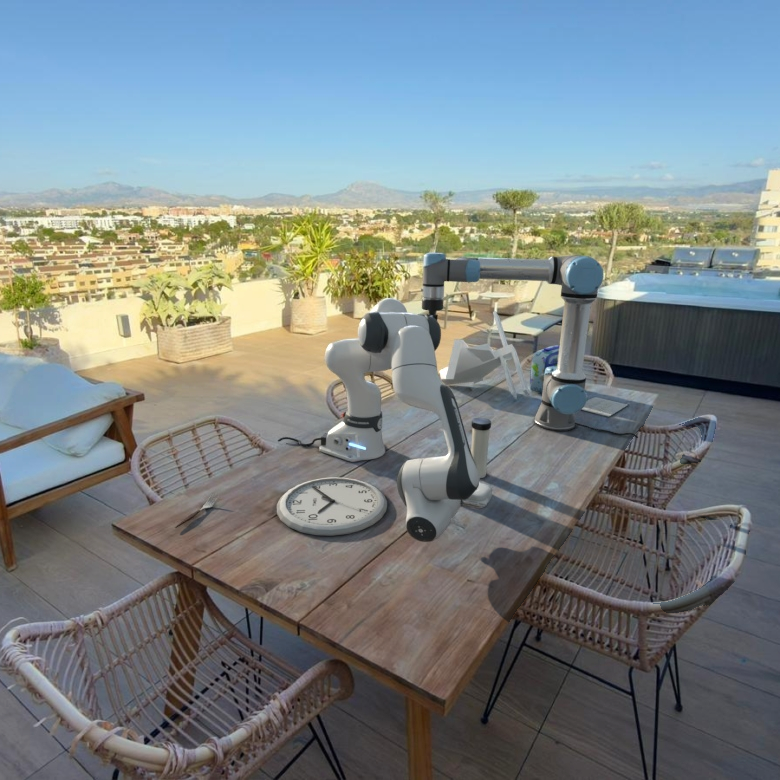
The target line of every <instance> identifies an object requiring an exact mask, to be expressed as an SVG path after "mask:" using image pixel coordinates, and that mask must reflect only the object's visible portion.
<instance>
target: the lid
mask: <svg viewBox="0 0 780 780" xmlns="http://www.w3.org/2000/svg"><path fill="white" fill-rule="evenodd" d="M470 426H471V428H474V429H476V430H489V431H490V430H491V428H492V420H491V419H490V418H486V417H474V418H472V419H471V425H470Z"/></svg>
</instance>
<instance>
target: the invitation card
mask: <svg viewBox="0 0 780 780" xmlns="http://www.w3.org/2000/svg"><path fill="white" fill-rule="evenodd" d="M628 406H629V404H627V403H623V402H618V401H614V400H609V399H605V398H601V397H596V396H593V397H592V398H590V399H587V401H586V404H585V406H584V407H583V408H582V409H581V410H580V411H584V412H587V413H593V414H596V415H600V416H604V417H608V418H609V417H611V416H613V415H614V414H616V413H617V412H619V411H621V410H623V409H624V408H626V407H628Z"/></svg>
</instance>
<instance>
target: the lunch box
mask: <svg viewBox="0 0 780 780" xmlns="http://www.w3.org/2000/svg"><path fill="white" fill-rule="evenodd" d="M559 346H560V345H551V346H548V347H544V348H543V349H539V350H536V351H535V352H534V354H533V356H532V358H531V363H530V374H529V391H532V392H536V393H540V394H542V392H543V382H544V373H545V369H546V368H547V367H553V366H557V364H558V355H559Z"/></svg>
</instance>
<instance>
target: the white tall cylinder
mask: <svg viewBox="0 0 780 780" xmlns="http://www.w3.org/2000/svg"><path fill="white" fill-rule="evenodd" d="M471 428H472V427H471ZM489 440H490V429H489V430H476V429H474V428H472V430H471V445H470V451H471V454H472V456H473V459H474V462H475V464H476V467H477V471H478V475H479V478H480V479H482V478H485V477H486V476H487V467H488V456H489V455H488V453H489V442H490V441H489Z"/></svg>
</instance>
